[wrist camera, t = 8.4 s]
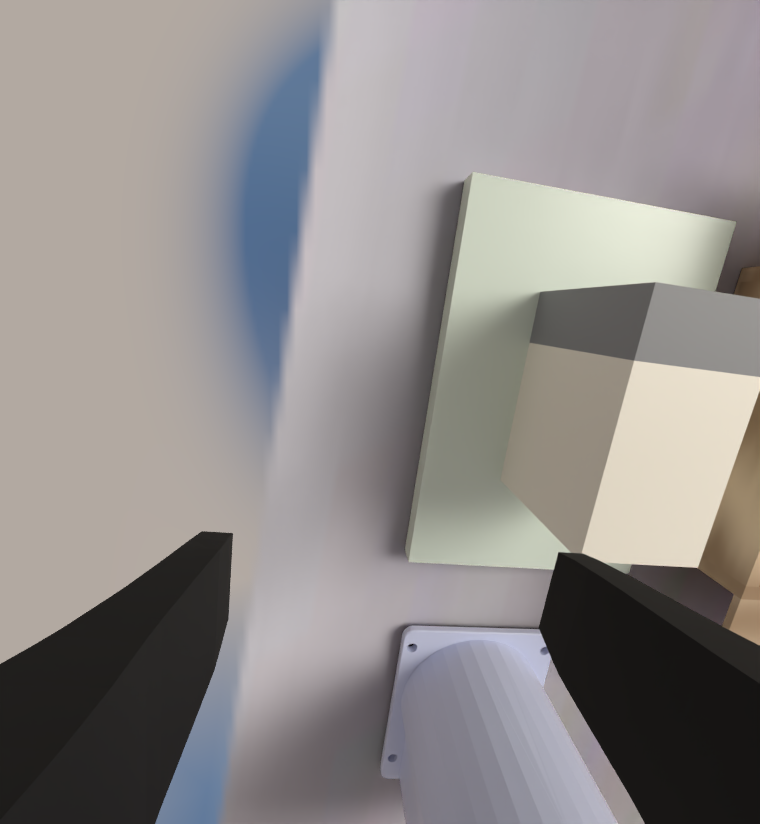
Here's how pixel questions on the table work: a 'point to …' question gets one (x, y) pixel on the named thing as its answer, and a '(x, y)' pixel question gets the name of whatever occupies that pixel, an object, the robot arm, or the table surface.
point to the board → (524, 346)
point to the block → (633, 417)
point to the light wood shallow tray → (740, 518)
